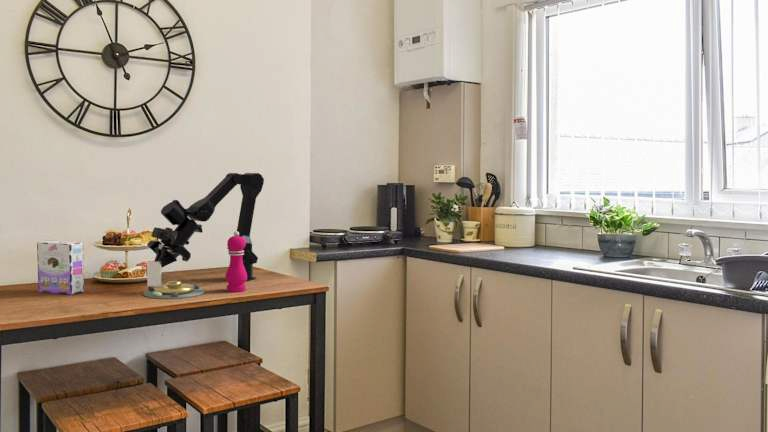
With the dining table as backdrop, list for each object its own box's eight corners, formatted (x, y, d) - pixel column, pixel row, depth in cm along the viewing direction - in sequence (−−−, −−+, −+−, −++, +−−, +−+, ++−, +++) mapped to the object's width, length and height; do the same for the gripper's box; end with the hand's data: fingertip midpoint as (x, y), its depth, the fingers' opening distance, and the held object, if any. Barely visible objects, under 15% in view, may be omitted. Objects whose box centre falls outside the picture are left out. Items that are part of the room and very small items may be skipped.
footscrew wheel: (199, 287, 224) (199, 259, 224) (187, 294, 212) (187, 265, 211) (155, 286, 224) (154, 258, 224) (141, 293, 212) (140, 264, 211)
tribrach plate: (216, 293, 219) (216, 288, 219) (163, 301, 205) (163, 295, 205) (184, 285, 231) (184, 280, 231) (132, 292, 217) (132, 287, 217)
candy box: (84, 292, 217) (84, 241, 216) (70, 295, 212) (70, 243, 210) (51, 288, 222) (50, 239, 220) (37, 291, 216) (36, 241, 215)
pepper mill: (241, 293, 221) (242, 232, 219) (221, 291, 222) (221, 231, 221) (250, 289, 228) (250, 230, 226) (230, 288, 229) (230, 229, 228)
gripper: (151, 216, 228) (121, 252, 220) (181, 220, 215) (151, 257, 208) (173, 237, 234) (144, 272, 227) (203, 242, 222) (174, 279, 215)
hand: (152, 270), depth 219 cm, fingers closed
